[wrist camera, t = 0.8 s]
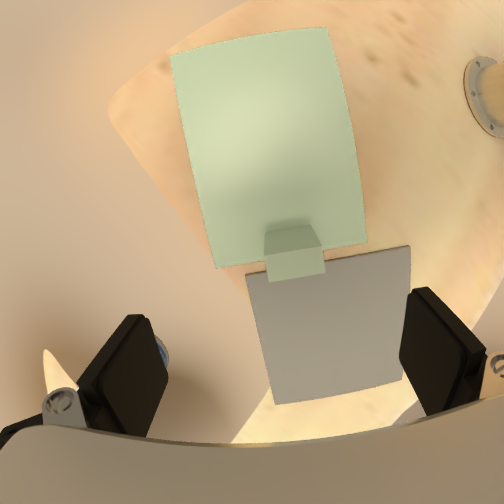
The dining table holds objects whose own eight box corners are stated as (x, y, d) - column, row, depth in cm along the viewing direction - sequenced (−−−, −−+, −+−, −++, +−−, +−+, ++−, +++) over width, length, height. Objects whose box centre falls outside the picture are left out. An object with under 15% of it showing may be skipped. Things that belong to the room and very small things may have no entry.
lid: (323, 34, 21) (341, -3, 14) (361, 236, 27) (391, 266, 20) (175, 62, 23) (143, 33, 15) (219, 261, 29) (202, 299, 21)
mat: (408, 245, 35) (410, 246, 35) (400, 377, 43) (401, 379, 42) (245, 274, 38) (245, 276, 37) (275, 402, 45) (275, 404, 45)
